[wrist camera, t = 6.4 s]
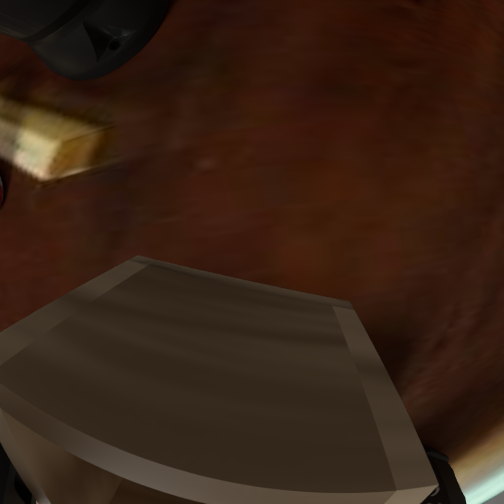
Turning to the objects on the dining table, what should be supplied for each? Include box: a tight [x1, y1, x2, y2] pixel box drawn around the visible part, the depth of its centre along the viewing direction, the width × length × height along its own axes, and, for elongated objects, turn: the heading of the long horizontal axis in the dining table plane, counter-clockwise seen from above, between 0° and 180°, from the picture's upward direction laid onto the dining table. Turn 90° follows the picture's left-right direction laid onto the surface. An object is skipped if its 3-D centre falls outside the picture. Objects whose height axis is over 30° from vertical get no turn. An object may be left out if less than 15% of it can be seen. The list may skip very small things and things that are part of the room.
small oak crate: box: [0, 255, 439, 504], centre depth 8 cm, size 10×8×8 cm
